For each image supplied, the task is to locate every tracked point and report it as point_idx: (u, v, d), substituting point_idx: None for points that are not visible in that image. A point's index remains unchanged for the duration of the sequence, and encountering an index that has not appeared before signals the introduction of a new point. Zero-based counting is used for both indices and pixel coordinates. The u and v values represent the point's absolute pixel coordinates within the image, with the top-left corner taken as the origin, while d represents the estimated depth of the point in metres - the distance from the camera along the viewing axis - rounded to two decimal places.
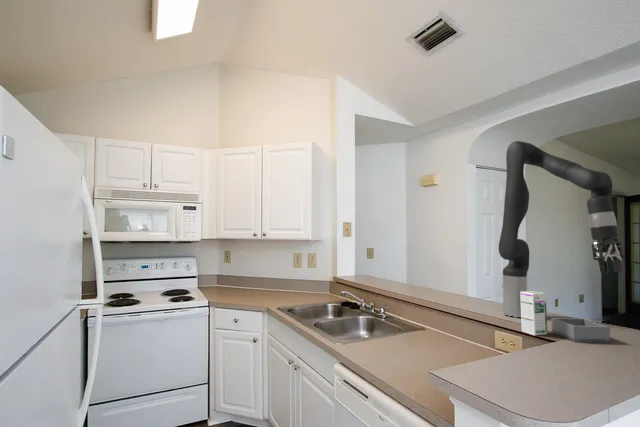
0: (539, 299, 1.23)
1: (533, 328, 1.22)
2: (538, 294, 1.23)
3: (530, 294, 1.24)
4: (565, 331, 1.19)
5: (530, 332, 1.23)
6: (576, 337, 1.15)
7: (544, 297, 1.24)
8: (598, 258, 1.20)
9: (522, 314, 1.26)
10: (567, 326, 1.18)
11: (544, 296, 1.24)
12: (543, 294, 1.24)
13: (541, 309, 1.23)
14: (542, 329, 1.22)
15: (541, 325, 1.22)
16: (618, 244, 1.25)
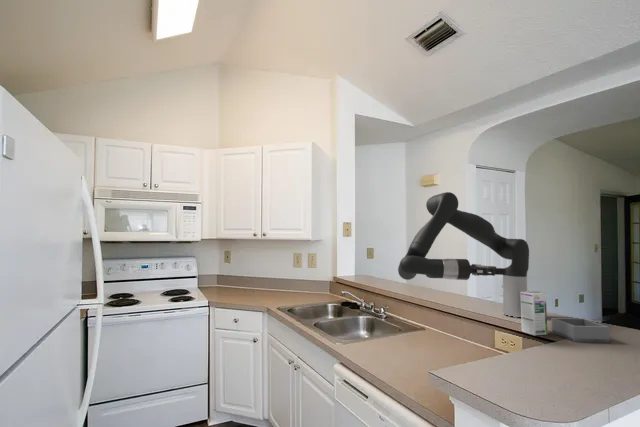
0: (539, 299, 1.23)
1: (533, 328, 1.22)
2: (538, 294, 1.23)
3: (530, 294, 1.24)
4: (565, 331, 1.19)
5: (530, 332, 1.23)
6: (576, 337, 1.15)
7: (544, 297, 1.24)
8: None
9: (522, 314, 1.26)
10: (567, 326, 1.18)
11: (544, 296, 1.24)
12: (543, 294, 1.24)
13: (541, 309, 1.23)
14: (542, 329, 1.22)
15: (541, 325, 1.22)
16: None
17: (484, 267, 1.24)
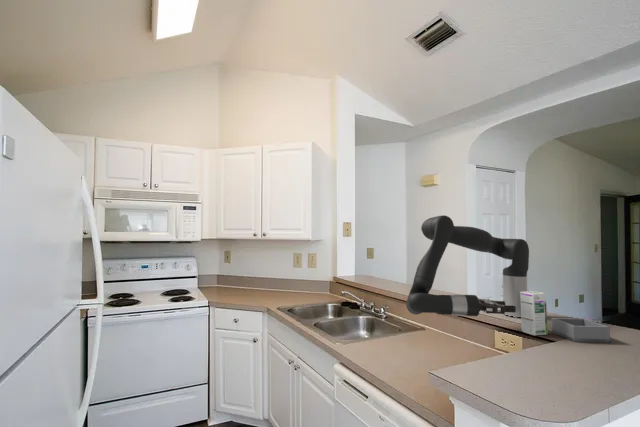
0: (539, 299, 1.23)
1: (533, 328, 1.22)
2: (538, 294, 1.23)
3: (530, 294, 1.24)
4: (565, 331, 1.19)
5: (530, 332, 1.23)
6: (576, 337, 1.15)
7: (544, 297, 1.24)
8: None
9: (522, 314, 1.26)
10: (567, 326, 1.18)
11: (544, 296, 1.24)
12: (543, 294, 1.24)
13: (541, 309, 1.23)
14: (542, 329, 1.22)
15: (541, 325, 1.22)
16: None
17: (493, 304, 1.23)
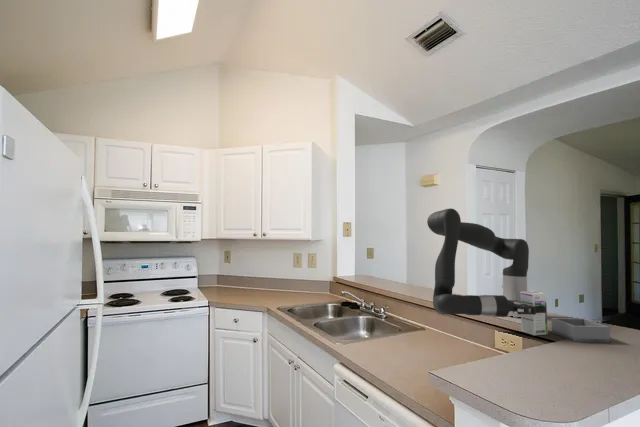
0: (539, 299, 1.23)
1: (533, 328, 1.22)
2: (538, 294, 1.23)
3: (530, 294, 1.23)
4: (565, 331, 1.19)
5: (530, 332, 1.23)
6: (576, 337, 1.15)
7: (544, 297, 1.24)
8: None
9: (522, 314, 1.26)
10: (567, 326, 1.18)
11: (544, 296, 1.24)
12: (543, 294, 1.24)
13: None
14: (542, 329, 1.22)
15: (541, 325, 1.22)
16: None
17: None
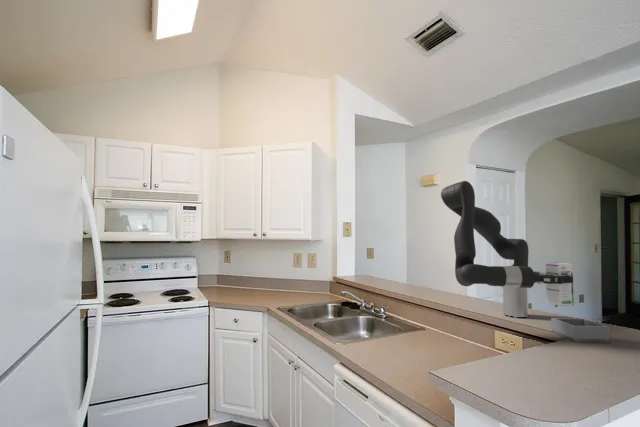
0: (566, 270, 1.21)
1: (559, 298, 1.20)
2: (564, 264, 1.21)
3: (556, 264, 1.22)
4: (565, 331, 1.19)
5: (556, 303, 1.21)
6: (576, 337, 1.15)
7: (570, 267, 1.21)
8: None
9: (547, 285, 1.25)
10: (567, 326, 1.18)
11: (570, 266, 1.22)
12: (569, 265, 1.21)
13: None
14: (568, 299, 1.20)
15: (568, 296, 1.20)
16: None
17: (549, 275, 1.21)
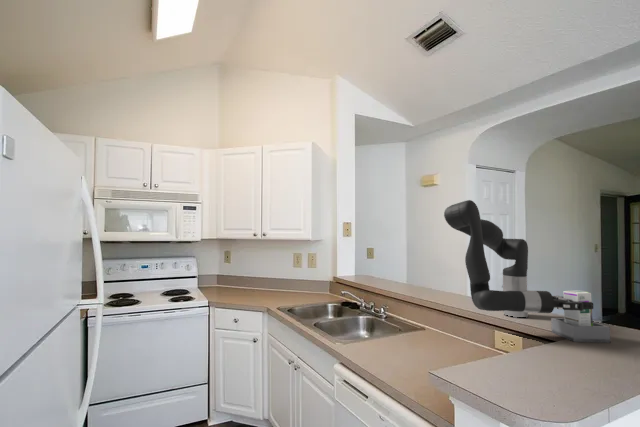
0: (584, 299, 1.19)
1: None
2: (583, 294, 1.19)
3: (575, 294, 1.20)
4: (565, 331, 1.19)
5: None
6: (576, 337, 1.15)
7: (589, 297, 1.19)
8: None
9: (565, 314, 1.23)
10: (567, 326, 1.18)
11: (589, 295, 1.20)
12: (588, 294, 1.19)
13: (586, 309, 1.19)
14: None
15: None
16: None
17: (569, 301, 1.18)
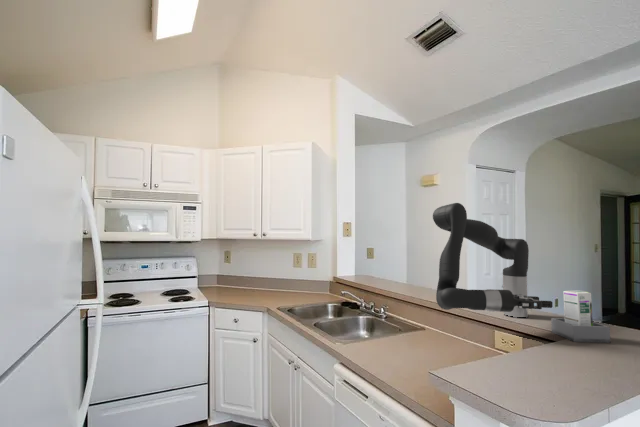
0: (584, 299, 1.19)
1: None
2: (583, 294, 1.19)
3: (575, 294, 1.20)
4: (565, 331, 1.19)
5: None
6: (576, 337, 1.15)
7: (589, 297, 1.20)
8: None
9: (565, 314, 1.23)
10: (567, 326, 1.18)
11: (589, 295, 1.20)
12: (588, 294, 1.19)
13: (586, 309, 1.19)
14: None
15: None
16: None
17: (529, 299, 1.19)
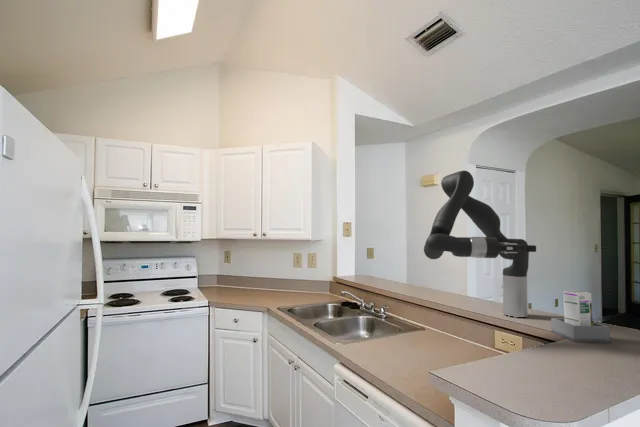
0: (584, 299, 1.19)
1: None
2: (583, 294, 1.19)
3: (575, 294, 1.20)
4: (565, 331, 1.19)
5: None
6: (576, 337, 1.15)
7: (589, 297, 1.20)
8: None
9: (565, 314, 1.23)
10: (567, 326, 1.18)
11: (589, 295, 1.20)
12: (588, 294, 1.19)
13: (586, 309, 1.19)
14: None
15: None
16: None
17: (513, 244, 1.22)
